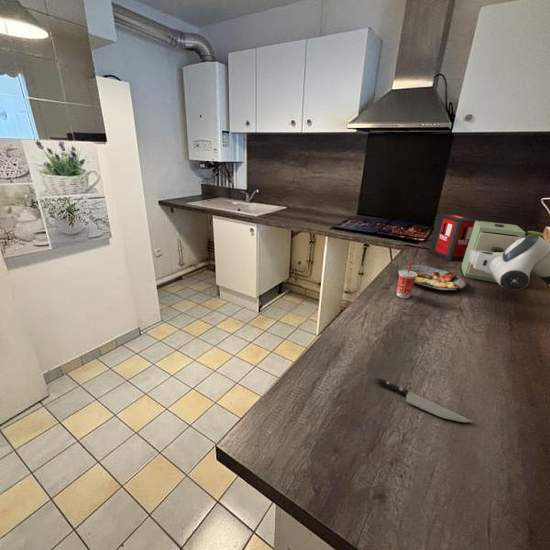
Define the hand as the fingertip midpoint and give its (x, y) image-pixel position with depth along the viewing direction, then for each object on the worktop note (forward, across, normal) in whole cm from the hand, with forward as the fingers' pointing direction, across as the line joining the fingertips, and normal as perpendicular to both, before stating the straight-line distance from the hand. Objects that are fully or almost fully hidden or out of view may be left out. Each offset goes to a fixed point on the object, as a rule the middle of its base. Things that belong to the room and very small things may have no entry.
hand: (496, 253), depth 115 cm
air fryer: (+10, 0, +13) cm, 16 cm away
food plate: (-10, +21, +13) cm, 27 cm away
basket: (+6, 0, +11) cm, 13 cm away
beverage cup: (-30, +30, +13) cm, 44 cm away
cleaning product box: (+33, +13, +13) cm, 38 cm away
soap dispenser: (+18, -14, +13) cm, 26 cm away
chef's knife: (-83, +23, +13) cm, 87 cm away
